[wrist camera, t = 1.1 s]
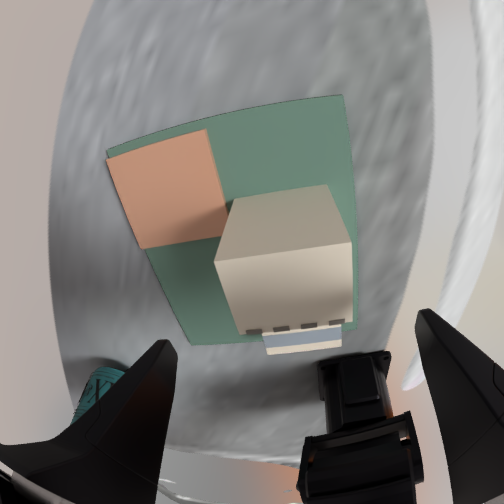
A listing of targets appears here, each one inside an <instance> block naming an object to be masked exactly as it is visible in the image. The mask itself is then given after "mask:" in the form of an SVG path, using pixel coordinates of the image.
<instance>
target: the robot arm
mask: <svg viewBox="0 0 504 504" xmlns="http://www.w3.org/2000/svg"><path fill="white" fill-rule="evenodd" d="M415 334H416V338H417V343H418V347H419V352H420V357H421V362H422V366H423V370H424V374H425V377H426V380H427V384H428V387H429V390H430V394H431V397H432V401H433V404H434V407H435V412H436V415H437V419H438V423H439V427H440V432H441V436H442V440H443V444H444V449H445V454H446V459H447V465H448V466H449V467H448V471H449V476H450V482H451V489H452V496H453V504H483V503H485V504H504V370H503V369H502V368H501V367H500V366H499V365H498V364H497V363H494V361H493V360H492V359H491V358H489V357H488V356H487V355H486V354H485V353H484V352H483V351H481V350H480V349H479V348H478V347H477V346H475V345H474V344H473V343H472V342H471V341H470V340H468V339H467V338H466V337H465V336H464V335H462V334H461V333H460V332H459V331H457V330H456V329H455V328H454V327H452V326H451V325H450V324H449V323H448V322H446V321H445V320H444V319H443V318H441V317H440V316H439V315H437V314H436V313H435V312H434V311H432V310H431V309H429V308H427V309H422V310H419V312H418V315H417V319H416V324H415ZM177 361H178V356H177V353H176V351H175V349H174V347H173V346H172V344H171V342H170V341H169V340H167V339H162V340H157V341H156V342H155V343H154V344H153V345H152V346H151V347H150V348H149V349H148V350H147V351H146V352H145V353H144V354H143V355H142V356H141V357H140V358H139V359H138V360H137V361H136V362H135V363H134V364H133V365H132V366H131V367H130V368H129V369H128V370H127V371H126V372H125V373H124V374H123V375H122V376H121V377H120V378H119V379H118V380H117V381H116V382H115V383H114V384H113V385H112V386H111V387H110V388H109V389H108V390H107V391H106V392H105V393H104V394H103V395H102V396H101V397H100V399H98V400H97V401H96V402H95V403H94V404H93V405H92V406H91V407H90V408H89V409H88V410H87V411H86V412H85V413H84V414H83V415H82V416H81V417H79V418H78V419H77V420H76V421H75V422H74V423H72V424H71V425H70V426H69V427H68V428H66V429H65V430H64V431H63V432H62V433H60V435H58V436H56V437H55V438H53V439H51V440H48V441H43V442H35V443H27V444H18V445H3V444H1V443H0V461H1V462H2V463H4V464H5V465H6V466H8V467H9V468H11V469H12V470H13V474H12V476H10V475H9V474H7V473H5V472H4V471H2V470H1V469H0V504H155V501H156V494H157V488H158V486H157V485H158V481H159V474H160V468H161V463H162V456H163V451H164V445H165V440H166V434H167V429H168V424H169V419H170V413H171V408H172V403H173V398H174V393H175V383H176V372H177ZM390 361H391V353H390V352H389V351H384V352H379V353H373V354H368V355H362V356H356V357H350V358H343V359H336V360H329V361H322V362H319V363H318V365H317V368H318V380H319V392H320V400H322V401H325V413H326V428H327V434H325V435H319V436H314V437H313V436H308V437H305V443H304V445H303V450H302V457H301V464H300V470H299V477H298V481H297V484H296V489H297V490H298V491H299V492H300V496H301V499H302V502H303V503H304V504H417V502H416V490H415V484H418V483H421V482H423V481H424V472H423V463H422V457H421V452H420V447H419V443H418V439H417V435H416V431H415V427H414V423H413V420H412V416H411V413H410V411H407V412H404V414H401V415H398V416H395V417H394V416H393V412H392V407H391V402H390V397H389V393H388V388H387V385H386V378H387V374H388V370H389V366H390ZM403 437H406V438H407V439H405V440H402V441H400V438H403Z"/></svg>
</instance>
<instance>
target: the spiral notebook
mask: <svg viewBox="0 0 504 504" xmlns="http://www.w3.org/2000/svg"><path fill="white" fill-rule="evenodd" d="M262 337H263V340H264V344H265V347H266V350H267V354H268V355H272V354H282V353H292V352H301V351H310V350H318V349H326V348H333V347H340V346H341V324H338V325H331V326H329V325H326V326H319V327H316V328H309V329H295V330H290V331H283V332H266V333H262Z"/></svg>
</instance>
